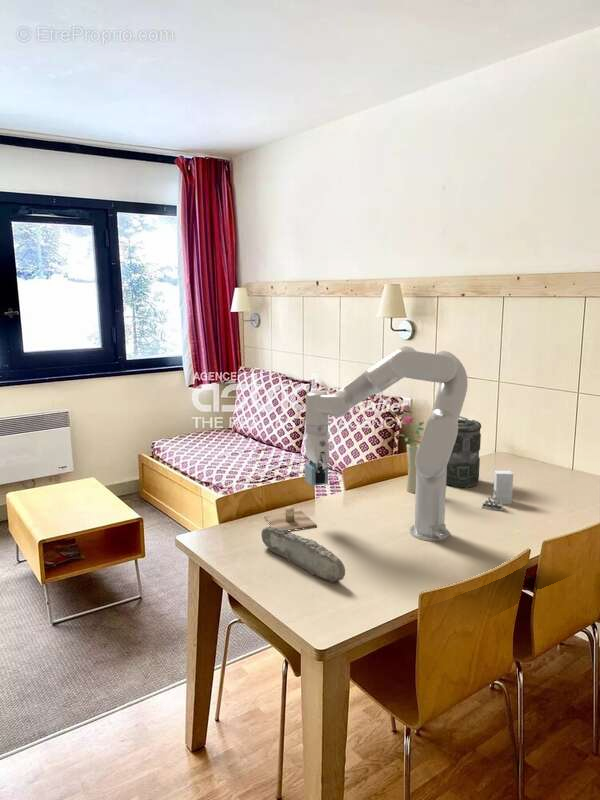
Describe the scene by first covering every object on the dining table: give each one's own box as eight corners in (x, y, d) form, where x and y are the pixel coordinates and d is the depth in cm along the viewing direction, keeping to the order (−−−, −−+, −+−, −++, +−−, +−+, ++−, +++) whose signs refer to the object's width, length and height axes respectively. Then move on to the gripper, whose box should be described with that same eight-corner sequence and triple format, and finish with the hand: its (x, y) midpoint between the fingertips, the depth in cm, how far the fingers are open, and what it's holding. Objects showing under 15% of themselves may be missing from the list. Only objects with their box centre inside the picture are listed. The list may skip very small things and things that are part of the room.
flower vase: (407, 500, 223) (409, 410, 216) (385, 491, 233) (387, 405, 226) (429, 494, 229) (432, 407, 223) (407, 485, 239) (409, 402, 233)
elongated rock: (256, 552, 180) (255, 521, 178) (269, 547, 184) (268, 517, 182) (339, 593, 155) (339, 558, 153) (352, 586, 159) (352, 552, 157)
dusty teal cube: (328, 483, 196) (328, 466, 195) (311, 485, 194) (311, 468, 193) (320, 478, 202) (321, 461, 201) (304, 480, 200) (304, 463, 198)
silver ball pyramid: (511, 506, 216) (512, 486, 215) (506, 514, 209) (507, 493, 208) (486, 502, 221) (487, 482, 220) (481, 509, 214) (482, 489, 212)
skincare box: (509, 500, 221) (510, 470, 219) (511, 504, 217) (513, 474, 215) (492, 500, 222) (494, 470, 220) (495, 504, 218) (496, 473, 216)
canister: (431, 479, 247) (433, 414, 242) (461, 474, 253) (463, 411, 248) (456, 490, 233) (459, 422, 228) (486, 485, 239) (490, 418, 234)
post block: (316, 528, 197) (316, 512, 196) (277, 535, 192) (277, 518, 191) (301, 514, 210) (300, 498, 209) (264, 520, 204) (263, 504, 203)
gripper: (338, 433, 188) (337, 486, 191) (316, 422, 204) (316, 471, 207) (316, 435, 185) (316, 489, 189) (296, 424, 201) (296, 474, 204)
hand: (316, 479), depth 198 cm, fingers closed on dusty teal cube, 6 cm apart
